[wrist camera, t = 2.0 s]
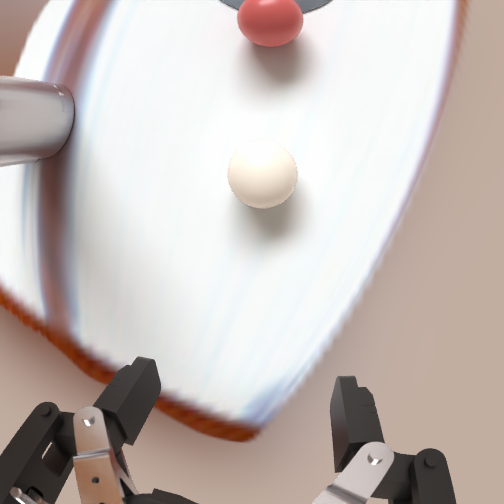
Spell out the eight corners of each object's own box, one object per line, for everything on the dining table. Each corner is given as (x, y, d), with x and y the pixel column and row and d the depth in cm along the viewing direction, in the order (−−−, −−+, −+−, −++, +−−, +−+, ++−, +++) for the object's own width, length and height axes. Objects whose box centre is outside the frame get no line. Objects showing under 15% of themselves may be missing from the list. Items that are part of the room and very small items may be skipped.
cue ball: (251, 213, 26) (242, 226, 21) (223, 159, 25) (207, 159, 20) (306, 187, 25) (312, 194, 20) (278, 131, 23) (276, 123, 18)
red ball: (259, 64, 22) (252, 41, 16) (232, 23, 20) (219, -4, 15) (312, 42, 20) (318, 16, 15) (283, 2, 19) (282, -28, 14)
